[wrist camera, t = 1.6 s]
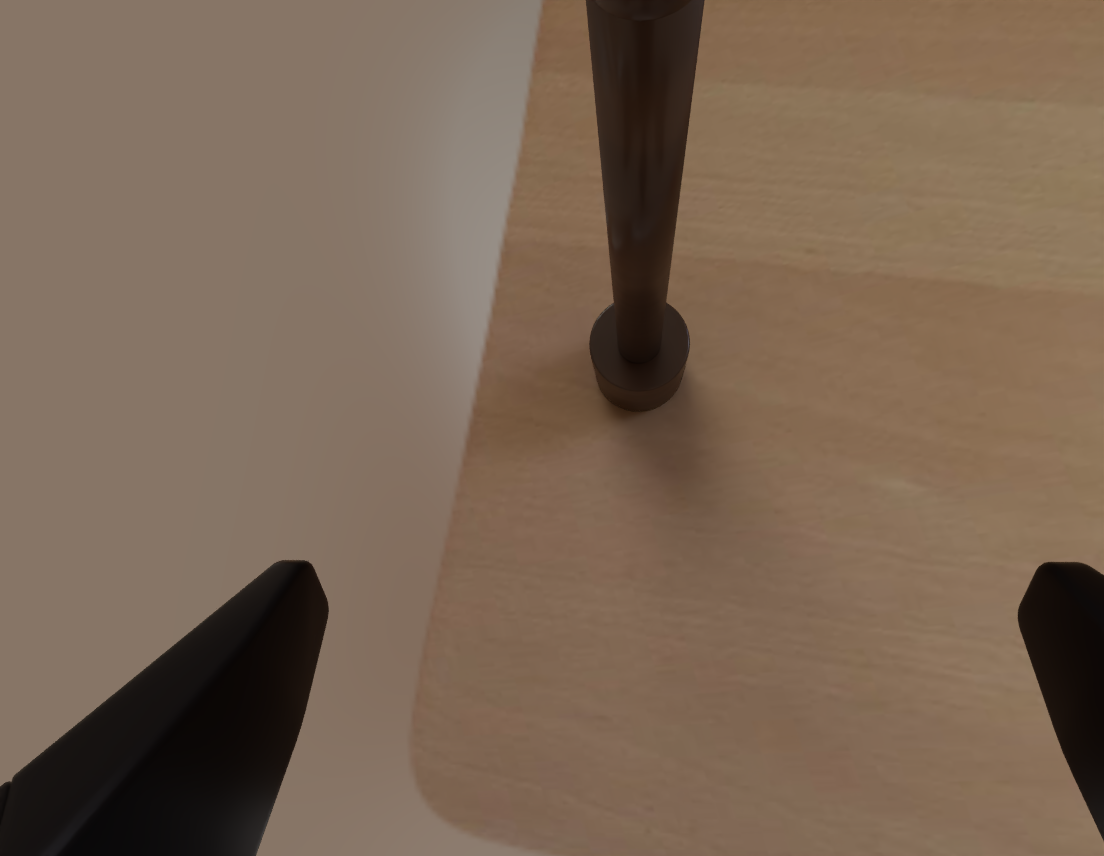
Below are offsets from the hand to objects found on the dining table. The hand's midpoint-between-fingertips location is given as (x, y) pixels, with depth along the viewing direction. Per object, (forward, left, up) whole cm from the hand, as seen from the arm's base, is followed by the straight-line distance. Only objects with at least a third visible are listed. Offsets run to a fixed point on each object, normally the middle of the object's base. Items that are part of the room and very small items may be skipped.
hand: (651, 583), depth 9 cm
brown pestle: (+6, -1, -12) cm, 14 cm away
